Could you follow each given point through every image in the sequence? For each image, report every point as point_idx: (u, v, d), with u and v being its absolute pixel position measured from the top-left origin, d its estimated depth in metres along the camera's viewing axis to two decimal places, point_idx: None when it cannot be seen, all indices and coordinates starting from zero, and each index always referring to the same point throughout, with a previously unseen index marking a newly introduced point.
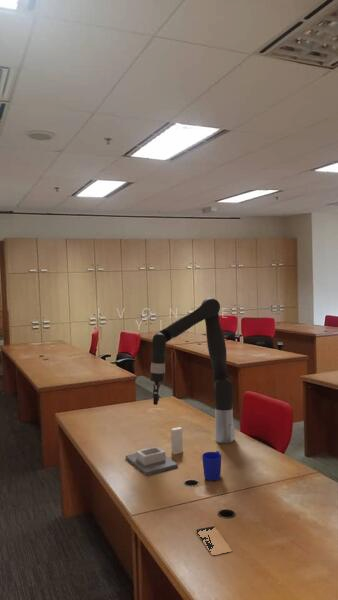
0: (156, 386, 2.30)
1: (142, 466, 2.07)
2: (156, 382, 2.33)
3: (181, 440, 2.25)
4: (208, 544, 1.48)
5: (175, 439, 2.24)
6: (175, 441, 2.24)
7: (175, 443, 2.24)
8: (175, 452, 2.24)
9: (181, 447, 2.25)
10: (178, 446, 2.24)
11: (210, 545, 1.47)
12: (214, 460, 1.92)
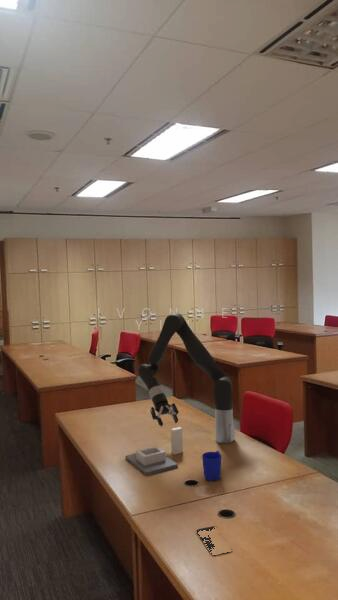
0: (151, 409, 2.34)
1: (142, 466, 2.07)
2: (155, 406, 2.36)
3: (181, 440, 2.25)
4: (208, 544, 1.48)
5: (175, 439, 2.24)
6: (175, 441, 2.24)
7: (175, 443, 2.24)
8: (175, 452, 2.24)
9: (181, 447, 2.25)
10: (178, 446, 2.24)
11: (210, 545, 1.47)
12: (214, 460, 1.92)
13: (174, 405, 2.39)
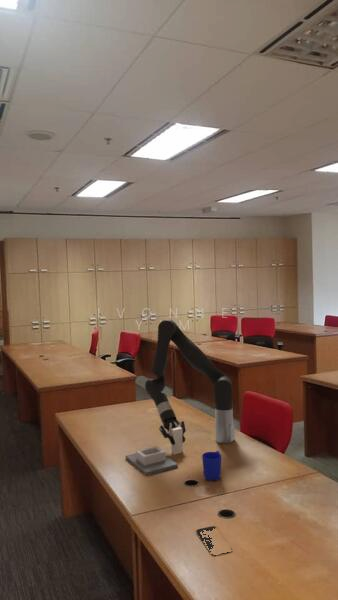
0: (160, 428, 2.26)
1: (142, 466, 2.07)
2: (163, 422, 2.29)
3: (181, 440, 2.25)
4: (208, 544, 1.48)
5: (175, 439, 2.24)
6: (175, 441, 2.24)
7: (175, 443, 2.24)
8: (175, 452, 2.24)
9: (181, 447, 2.25)
10: (178, 446, 2.24)
11: (210, 545, 1.47)
12: (214, 460, 1.92)
13: (183, 423, 2.31)
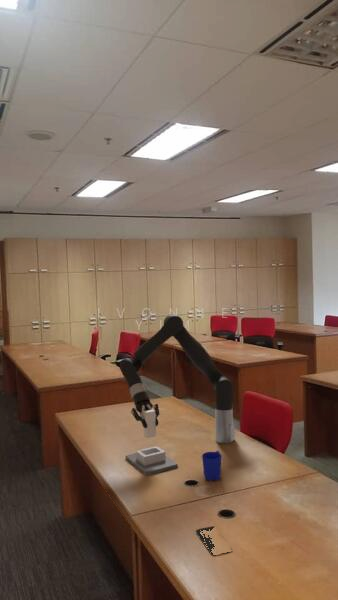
0: (132, 410, 2.14)
1: (142, 466, 2.07)
2: (135, 405, 2.17)
3: (154, 423, 2.13)
4: (208, 544, 1.48)
5: (147, 422, 2.11)
6: (147, 425, 2.11)
7: (148, 426, 2.12)
8: (147, 436, 2.12)
9: (154, 431, 2.13)
10: (150, 429, 2.12)
11: (210, 545, 1.47)
12: (214, 460, 1.92)
13: (157, 406, 2.19)
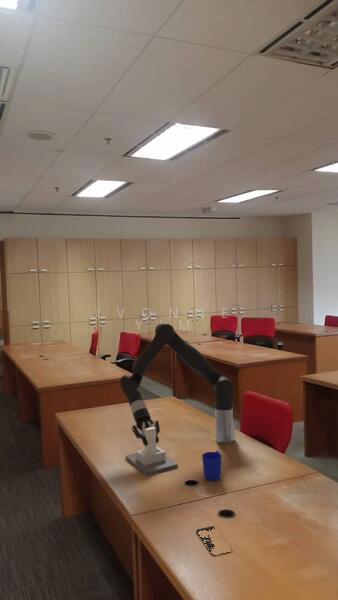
0: (132, 427, 2.14)
1: (142, 466, 2.07)
2: (136, 422, 2.17)
3: (154, 441, 2.14)
4: (208, 544, 1.48)
5: (148, 439, 2.12)
6: None
7: (148, 444, 2.12)
8: (148, 453, 2.12)
9: (154, 448, 2.14)
10: (151, 446, 2.13)
11: (210, 545, 1.47)
12: (214, 460, 1.92)
13: (157, 423, 2.19)
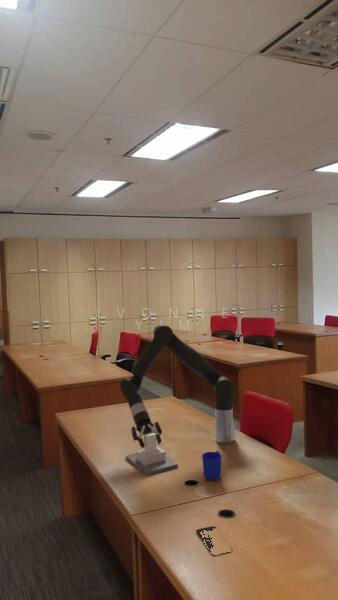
0: None
1: (142, 466, 2.07)
2: (136, 425, 2.17)
3: (155, 447, 2.14)
4: (208, 544, 1.48)
5: (148, 446, 2.12)
6: (148, 448, 2.12)
7: (149, 450, 2.12)
8: None
9: None
10: (151, 452, 2.13)
11: (210, 545, 1.47)
12: (214, 460, 1.92)
13: (157, 424, 2.20)
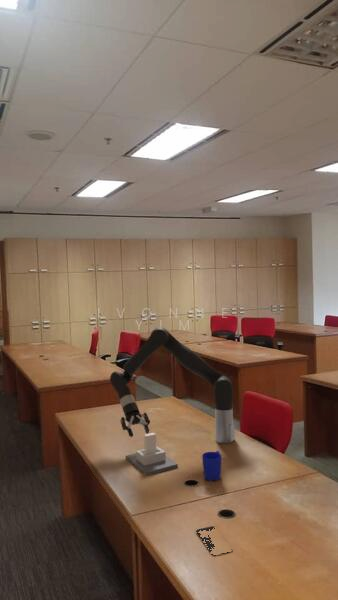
0: (121, 419, 2.26)
1: (142, 466, 2.07)
2: (125, 415, 2.29)
3: (155, 447, 2.14)
4: (208, 544, 1.48)
5: (148, 446, 2.12)
6: (148, 448, 2.12)
7: (149, 450, 2.12)
8: None
9: None
10: (151, 452, 2.13)
11: (210, 545, 1.47)
12: (214, 460, 1.92)
13: (146, 415, 2.32)
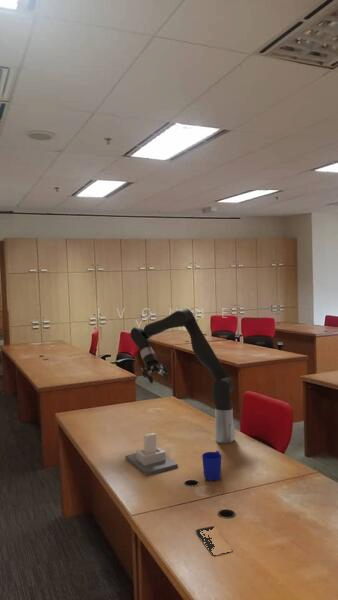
0: (142, 367, 2.47)
1: (142, 466, 2.07)
2: (145, 365, 2.50)
3: (155, 447, 2.14)
4: (208, 544, 1.48)
5: (148, 446, 2.12)
6: (148, 448, 2.12)
7: (149, 450, 2.12)
8: None
9: None
10: (151, 452, 2.13)
11: (210, 545, 1.47)
12: (214, 460, 1.92)
13: (164, 365, 2.53)
